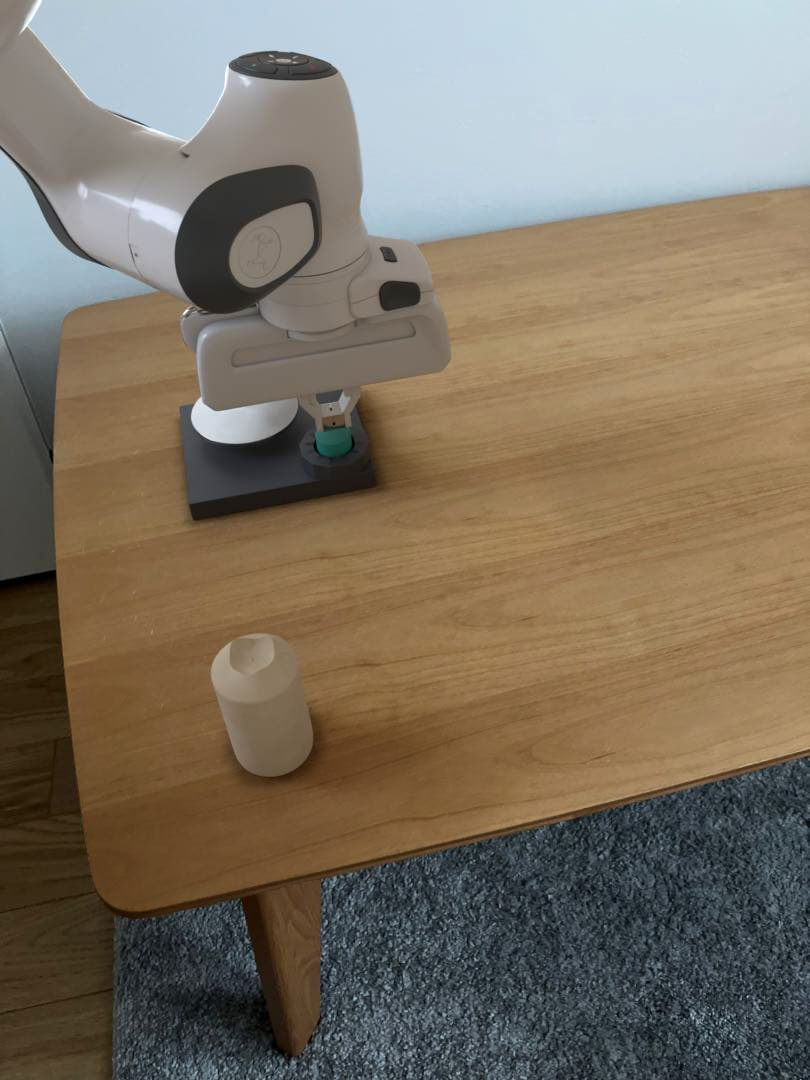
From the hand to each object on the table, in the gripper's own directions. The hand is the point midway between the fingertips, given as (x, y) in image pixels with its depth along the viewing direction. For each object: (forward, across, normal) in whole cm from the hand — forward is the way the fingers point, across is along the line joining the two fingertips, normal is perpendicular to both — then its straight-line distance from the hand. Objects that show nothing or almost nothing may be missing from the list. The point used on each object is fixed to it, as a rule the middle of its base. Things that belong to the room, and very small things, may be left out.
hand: (333, 426), depth 85 cm
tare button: (+2, 0, 0) cm, 2 cm away
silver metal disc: (+2, -7, +7) cm, 10 cm away
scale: (+5, -5, +4) cm, 9 cm away
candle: (+6, -9, -26) cm, 29 cm away
